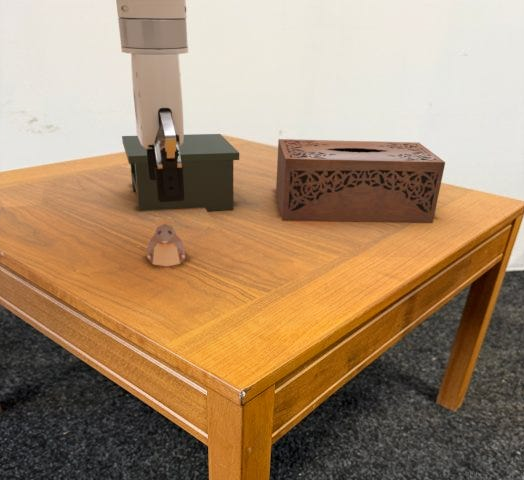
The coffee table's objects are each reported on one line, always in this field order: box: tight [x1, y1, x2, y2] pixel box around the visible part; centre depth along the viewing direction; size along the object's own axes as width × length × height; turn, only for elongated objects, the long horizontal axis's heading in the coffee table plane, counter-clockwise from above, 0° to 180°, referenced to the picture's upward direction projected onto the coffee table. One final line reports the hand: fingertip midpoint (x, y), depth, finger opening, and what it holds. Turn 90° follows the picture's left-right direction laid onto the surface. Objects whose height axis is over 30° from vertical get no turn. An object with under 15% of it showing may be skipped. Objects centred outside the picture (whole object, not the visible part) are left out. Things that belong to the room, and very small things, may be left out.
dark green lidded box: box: [121, 133, 240, 212], centre depth 97 cm, size 18×15×10 cm
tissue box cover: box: [275, 138, 446, 224], centre depth 96 cm, size 26×14×10 cm, turn 93°
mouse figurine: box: [146, 216, 186, 267], centre depth 74 cm, size 5×8×7 cm, turn 7°
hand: (166, 189), depth 71 cm, fingers open, 9 cm apart
